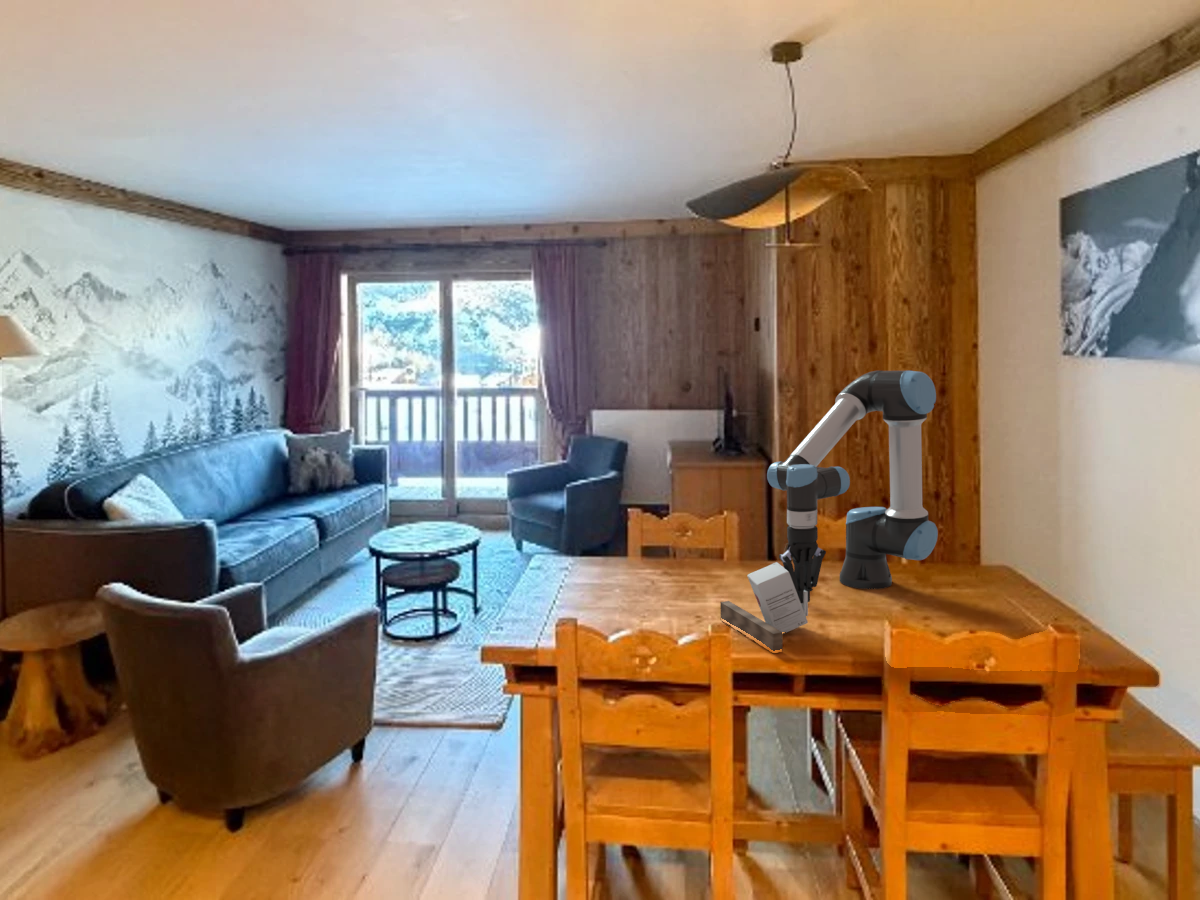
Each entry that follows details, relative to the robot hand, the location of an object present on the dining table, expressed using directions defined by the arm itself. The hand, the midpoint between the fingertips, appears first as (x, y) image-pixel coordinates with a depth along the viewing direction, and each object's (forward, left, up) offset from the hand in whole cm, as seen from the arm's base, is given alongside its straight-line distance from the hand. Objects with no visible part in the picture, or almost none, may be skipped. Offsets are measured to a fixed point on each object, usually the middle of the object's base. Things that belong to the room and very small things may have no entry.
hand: (803, 614), depth 207 cm
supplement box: (0, -5, -2) cm, 5 cm away
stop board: (0, -16, -3) cm, 16 cm away
